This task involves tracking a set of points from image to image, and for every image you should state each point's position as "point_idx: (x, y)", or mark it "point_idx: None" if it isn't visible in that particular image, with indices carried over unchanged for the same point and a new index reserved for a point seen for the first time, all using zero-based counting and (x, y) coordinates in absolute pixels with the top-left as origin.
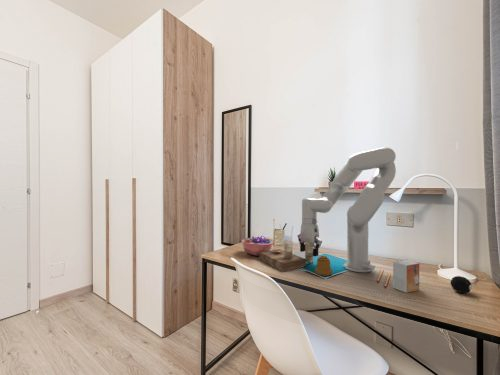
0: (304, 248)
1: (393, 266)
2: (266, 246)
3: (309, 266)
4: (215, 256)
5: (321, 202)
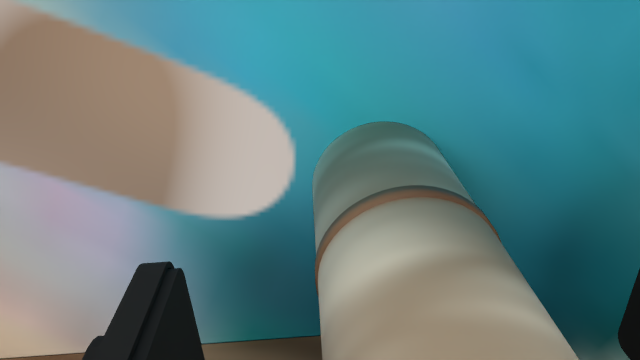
0: (169, 354)
1: None
2: None
3: None
4: None
5: None
